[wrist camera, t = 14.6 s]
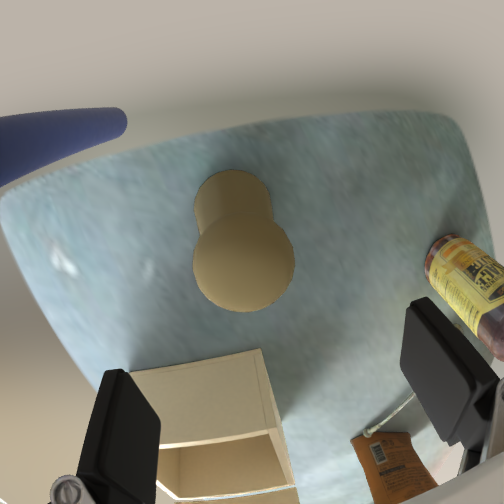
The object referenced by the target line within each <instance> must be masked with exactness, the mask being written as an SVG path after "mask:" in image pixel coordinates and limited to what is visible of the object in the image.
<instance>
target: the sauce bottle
mask: <svg viewBox="0 0 504 504" xmlns="http://www.w3.org/2000/svg"><path fill="white" fill-rule="evenodd" d="M425 274H426V278H427V280H428V282H429V283H431V285H432V287H433V288H434V289H435V290H436V291H437V292H438V293H439V294H440V295H441V296H442V297H443V299H444V300H445V301H446V302H447V303H448V304H449V305H450V306H451V307H452V309H453V310H454V311H455V312H456V313H457V314H458V315H459V316H460V318H461V319H462V320H463V321H464V322H465V323H466V325H467V326H468V327H469V328H470V329H471V330H472V332H473V333H474V334H475V335H476V336H477V337H478V339H479V340H480V341H482V342H483V343H484V344H485V345H486V346H487V348H488V349H489V350H490V352H491V353H492V354H493V355H494V356H495V357H496V358H497V359H498V360H500V361H503V362H504V267H503V266H502V265H500V264H499V263H498V262H497V261H496V260H494V259H493V258H491V257H490V256H489V255H487V254H486V253H485V252H484V251H482V250H481V249H480V248H478V247H477V246H475V245H474V244H473V243H471V242H470V241H469V240H467V239H464V238H462V237H460V236H459V235H454V234H450V235H447V236H444V237H443V238H441V239H440V240H437V241H436V242H435V243H434V244H433V246H432V247H431V250H430V251H429V253H428V255H427V257H426V261H425Z"/></svg>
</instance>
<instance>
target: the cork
mask: <svg viewBox="0 0 504 504" xmlns="http://www.w3.org/2000/svg"><path fill="white" fill-rule="evenodd" d="M194 213H195V217H196V221H197V225H198V229H199V233H200V237H199V239H198V241H197V244H196V246H195V249H194V253H193V272H194V275H195V278H196V281H197V284H198V286H199V288H200V290H201V291H202V292H203V293H204V295H205V296H206V297H207V299H209V300H210V301H212V302H213V303H215V304H216V305H218V306H219V307H221V308H224V309H227V310H231V311H234V312H252V311H256V310H261V309H263V308H265V307H267V306H269V305H271V304H272V303H274V302H275V301H276V300H277V299H278V298H279V297H280V296H281V295H282V294H283V293H284V292H285V291H286V289H287V287H288V286H289V284H290V282H291V280H292V277H293V272H294V268H295V258H294V252H293V246H292V244H291V243H290V241H289V239H288V237H287V235H286V234H285V232H284V230H283V229H282V228H281V227H280V226H278V225H277V224H276V223H275V222H274V219H273V212H272V205H271V199H270V194H269V192H268V190H267V189H266V187H265V185H264V183H262V182H261V181H260V180H259V179H258V178H257V177H256V176H254V175H252V174H250V173H247V172H245V171H241V170H227V171H223V172H218V173H217V174H215V175H213V176H212V177H210V178H208V179H207V180H206V181H205V182H204V183H203V185H202V186H201V187H200V188H199V190H198V193H197V195H196V198H195V204H194Z"/></svg>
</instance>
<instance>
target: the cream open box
mask: <svg viewBox="0 0 504 504" xmlns="http://www.w3.org/2000/svg"><path fill="white" fill-rule="evenodd" d="M129 374H130V375H131V377H132V379H133V380H134V382H135V383H136V385H137V386H138V388H139V389H140V391H141V392H142V394H143V395H144V396H145V398H146V399H147V401H148V402H149V404H150V405H151V406H152V408H153V409H154V411H155V412H156V413H157V415H158V416H159V418H160V421H161V434H160V445H159V456H158V468H157V482H156V485H157V486H159V487H160V488H161V489H162V490H164V491H165V492H166V493H167V494H169V495H170V496H171V497H172V498H174V499H175V500H185V499H202V498H214V497H224V496H232V495H240V494H247V493H253V492H260V491H265V490H271V489H276V488H281V487H286V486H288V485H289V486H291V485H295V480H294V476H293V472H292V467H291V463H290V458H289V454H288V450H287V445H286V441H285V436H284V432H283V427H282V423H281V419H280V416H279V412H278V409H277V405H276V402H275V398H274V394H273V391H272V387H271V384H270V380H269V377H268V373H267V369H266V366H265V362H264V358H263V355H262V351H261V348H258V349H254V350H250V351H245V352H241V353H236V354H231V355H227V356H222V357H217V358H212V359H207V360H202V361H196V362H191V363H185V364H180V365H174V366H168V367H162V368H155V369H149V370H142V371H135V372H129Z"/></svg>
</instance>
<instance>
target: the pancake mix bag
mask: <svg viewBox="0 0 504 504" xmlns="http://www.w3.org/2000/svg"><path fill="white" fill-rule="evenodd" d="M350 442H351V444H352V446H353V447H354V450H355V452H356V454H357V457H358V459H359V461H360V463H361V465H362V467H363V469H364V472H365V475H366V479H367V482H368V485H369V487H370V491H371V494H372V497H373V500H374V504H399V503H402V502H404V501H406V500H409V499H411V498H414V497H416V496H418V495H420V494H422V493H425V492H427V491H429V490H431V489H433V488H435V487H437V486H439V485H438V484H437V483H436V482H435V480H434V479H433V477H432V476H431V475H430V473H429V472H428V470H427V469H426V468H425V466H424V465H423V463H422V462H421V460H420V458H419V457H418V455H417V453H416V452H415V450H414V449H413V446H412V444H411V438H410V434H409V433H408V432H373V434H371V437H365V436H364V434H363V435H361V436H359V437H356V438H354V439H352V440H350Z"/></svg>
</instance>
